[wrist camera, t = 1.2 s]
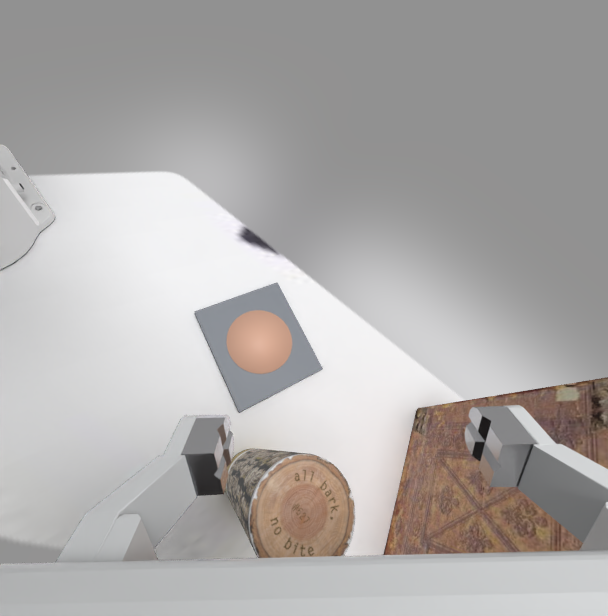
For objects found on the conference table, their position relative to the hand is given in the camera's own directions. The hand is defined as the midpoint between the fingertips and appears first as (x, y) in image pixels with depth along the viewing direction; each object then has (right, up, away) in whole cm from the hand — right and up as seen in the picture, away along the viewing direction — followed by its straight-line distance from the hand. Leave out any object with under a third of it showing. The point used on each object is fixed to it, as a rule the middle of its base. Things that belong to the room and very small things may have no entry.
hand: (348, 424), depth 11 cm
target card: (-8, -1, +38) cm, 39 cm away
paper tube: (-9, -18, +31) cm, 37 cm away
